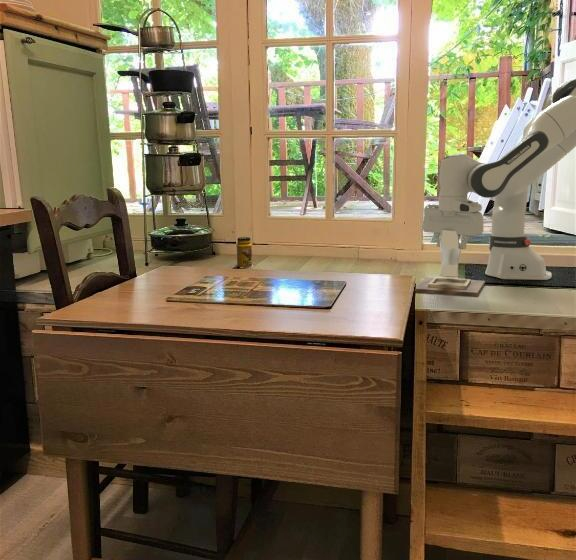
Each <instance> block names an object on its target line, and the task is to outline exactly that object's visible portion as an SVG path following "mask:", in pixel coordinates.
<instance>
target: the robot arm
mask: <svg viewBox="0 0 576 560" xmlns="http://www.w3.org/2000/svg"><path fill="white" fill-rule="evenodd" d="M551 97H552V99H551V102H552V104H551V105H549V106H548V107H546V108H545V109H543V110H542V111H540V112H539V113H538V114H536V115H535V116H534V117H533V118H532V119H531V120H530V121H529V122H528V123H527V124H526V126H524V129H523V132H522V138H521V140H520V142H518V144H517V145H515V146H514V147H512V149H510V150H509V151H508V152H507V153H505V154H504V155H503V156H502V157H500V158H499V159H498V160H495V161H493V162H489V163H484V162H481V161H479V160H477V159H474V158H473V157H471V156H469V154H467V153H465V152H459V153H453V154H449V155H446V156H444V157H443V159H442V160H441V163H440V169H439V180H438V183H439V186H440V188H439V189H440V190H439V194H438V204H436V203H435V204H433V203H429V204H427V205H426V206H424V209H423V219H422V230H423V232H424V233H433V237H434V239H435V242H436V247H437V248H440V239H441V232H442V230H451V231H456V233H457V235H462V243H460V245H459V246H460V247H459V248H460V249H462V250H466V249H467V244H468V242H469V240H470V239H471V236H472V237H478V236H482V234H483V233H484V216H483V214H482V212H481V211H482V210H483V206H482V204H480V203H478V202H476V201H473V200H470V199H468V194H469V193H473V194H476V195H478V196H480V197H482V198H487V199H488V198H494V202H493V208H492V213H491V214H492V215H491V216H492V217H491V233H490V234H491V235H490V236H489V246H488V247H489V248H488V249H489V257H488V261H487V267H486V269H485V272H484V274H485V275H487V276H488V277H489V276H490V277H495V278H499V279H501V280H533V281H535V280H537V281H539V280H540V281H547V280H550V279H551V278H552V275H553V274H552V272H551V271H548V270H547V268H546V262H545V259H544V258H543V256H541V255H540V254H538V252H536V251H535V250H534V249H533V248H531V247H530V244H531V238H529V237H527V236H526V235H525V226H526V224H525V223H526V222H525V221H526V210H527V209H526V208H527V201H528V192H529V186H530V185H531V184H533V183H534V182H535V181H537V180H538V179H539V178H540V177H542V176H543V175H544V174H545V173H546V172H547V171H548V170H550V169H551V168H553V167H554V166H555V165H556V164H557V163H558V162H559V161H561V160H562V159H563V158H564V157H565V156H567V155H568V154H569V153H570V152H572V150H574V149H575V148H576V78H570V79H568V80H567V81H565V82H563V83H562V84H559V86H558V87H557V88H556V90H555V91H554V93H553V94H552V96H551Z"/></svg>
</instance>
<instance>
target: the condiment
mask: <svg viewBox="0 0 576 560" xmlns="http://www.w3.org/2000/svg"><path fill="white" fill-rule="evenodd" d="M236 239H237V241H236V242H237V244H236V262H237V263H236V264H233V265H232V267H244V268H243V269H253V268H254V266H255V264H253V249H252V248H253V247H252V243H251V242H252V241H251V237H250V236H240V237H237V238H236ZM250 267H251V268H250Z"/></svg>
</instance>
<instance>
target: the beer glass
mask: <svg viewBox="0 0 576 560" xmlns="http://www.w3.org/2000/svg"><path fill="white" fill-rule="evenodd" d="M462 242H463V235H457V233H456V231H451V230H442V232H441V236H440V247H439V248H440V249H439V251H440V261H441V262H440V263H441V265H440V270H439V276H440V277H442V278H458V277H459V276H460V275H459V263H460V261H459V260H460V258H461V254H462V250H463V249H460V248H459V247H460V246H459V245H460V243H462Z"/></svg>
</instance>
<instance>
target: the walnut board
mask: <svg viewBox="0 0 576 560" xmlns="http://www.w3.org/2000/svg"><path fill="white" fill-rule="evenodd" d="M485 284H486V281H485V280H481V279H479V280H477V279H476V280H475V279H469V278H458V277H441V276H440V277H439V276H438V277H424V278H423V279H422V280H421V281H419V282H418V283H417V284H416V285H415V286H416V292H415V293H420V294H431V295H432V294H433V295H436V294H437V295H450V296H451V295H452V296H465V297H478V296H479V295H480V293H481V291H482V290H483V288H484V286H485Z"/></svg>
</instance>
